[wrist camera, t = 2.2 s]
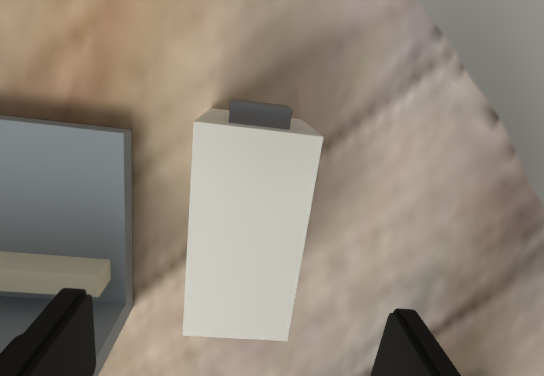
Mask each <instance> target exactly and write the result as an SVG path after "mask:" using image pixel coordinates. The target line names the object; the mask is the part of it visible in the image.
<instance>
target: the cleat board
mask: <svg viewBox="0 0 544 376" xmlns="http://www.w3.org/2000/svg"><path fill="white" fill-rule="evenodd" d="M62 288H77V289H85V290H86V293H87V294H90V295H91V296H92V303H93V319H94V335H95V351H96V368H95V372H94V375H93V376H98V375H99V373H100V371H101V369H102V367H103V365H104V363H105V361H106V359H107V357H108V355H109V353H110V351H111V349H112V347H113V345H114V343H115V341H116V340H117V338H118V336H119V334H120V332H121V330H122V328H123V326H124V324H125V322H126V320H127V318H128V316H129V314H130V312H131V310H132V308H133V231H132V130H130V129H121V128H113V127H104V126H95V125H86V124H77V123H69V122H60V121H51V120H42V119H33V118H25V117H16V116H7V115H0V353H1V352H2V351H3V350H4V349H5V347H6V346H7V345H8V344H9V343H10V342H11V341H12V340H13V339H14V338H15V337H16V336H18V335H20V334H23V333H24V332H25V331H26V330H27V328H28V327H29V326H30V325H31V324H32V323H33V321H34V320H35V319H36V318H37V317H38V316H39V314H40V313H41V312H42V311H43V310H44V309H45V307H46V306H47V305H48V304H49V303H50V302H51V301H52V299H53V298H54V297H55V296H56V295H57V294H58V292H59V291H60V290H61V289H62Z"/></svg>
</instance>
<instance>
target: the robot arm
mask: <svg viewBox="0 0 544 376" xmlns="http://www.w3.org/2000/svg"><path fill="white" fill-rule="evenodd" d="M95 368H96V351H95V335H94V319H93V303H92V296H91V295H90V294H87V293H86V290H85V289H77V288H62V289H61V290H60V291H59V292H58V294H57V295H56V296H55V297H54V298H53V299H52V301H51V302H50V303H49V304H48V305H47V306H46V307H45V309H44V310H43V311H42V312H41V313H40V314H39V316H38V317H37V318H36V319H35V320H34V321H33V323H32V324H31V325H30V326H29V327H28V328H27V330H26V331H25V332H24V333H23V334H20V335H18V336H16V337H15V338H14V339H13V340H12V341H11V342H10V343H9V344H8V345H7V346H6V347H5V349H4V350H3V351H2V352H1V353H0V376H93V375H94V372H95ZM371 376H461V375H460V374H459V372H458V371H457V369H456V368H455V366H454V365H453V364H452V362H451V361H450V359H449V358H448V356H447V355H446V354H445V352H444V351H443V349H442V348H441V346H440V345H439V343H438V342H437V341H436V339H435V338H434V336H433V335H432V333H431V332H430V331H429V329H428V328H427V326H426V325H425V323H424V322H423V320H422V319H421V318H420V316H419V315H418V313H417V312H416V311H415V310H411V309H395V310H394V312H393V313H390V314H389V316H388V319H387V323H386V326H385V329H384V332H383V336H382V339H381V342H380V346H379V349H378V352H377V356H376V359H375V362H374V366H373V369H372V372H371Z"/></svg>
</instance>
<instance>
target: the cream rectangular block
mask: <svg viewBox="0 0 544 376" xmlns="http://www.w3.org/2000/svg"><path fill="white" fill-rule="evenodd" d="M291 116H292V109H291V108H290V107H289V106H284V105H277V104H269V103H261V102H253V101H245V100H237V99H232V100H231V101H230V110H223V109H215V108H211V109H209V110H208V111H207V112H205V113H204V114H203V115H201V116H200V117H199V118H198V119H196V120H195V121H194V127H193V146H192V165H191V184H190V203H189V222H188V241H187V261H186V280H185V299H184V318H183V336H200V337H219V338H237V339H256V340H275V341H288V335H289V330H290V324H291V318H292V313H293V307H294V301H295V296H296V290H297V284H298V279H299V273H300V267H301V262H302V256H303V250H304V245H305V239H306V233H307V228H308V222H309V216H310V211H311V205H312V199H313V194H314V188H315V182H316V177H317V171H318V165H319V160H320V154H321V148H322V143H323V136H322V135H321V134H319V133H318V132H317V131H316V130H314V129H313V128H312V127H311V126H309V125H308V124H307V123H305V122H304V121H303V120H302V119H296V118H291Z"/></svg>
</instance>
